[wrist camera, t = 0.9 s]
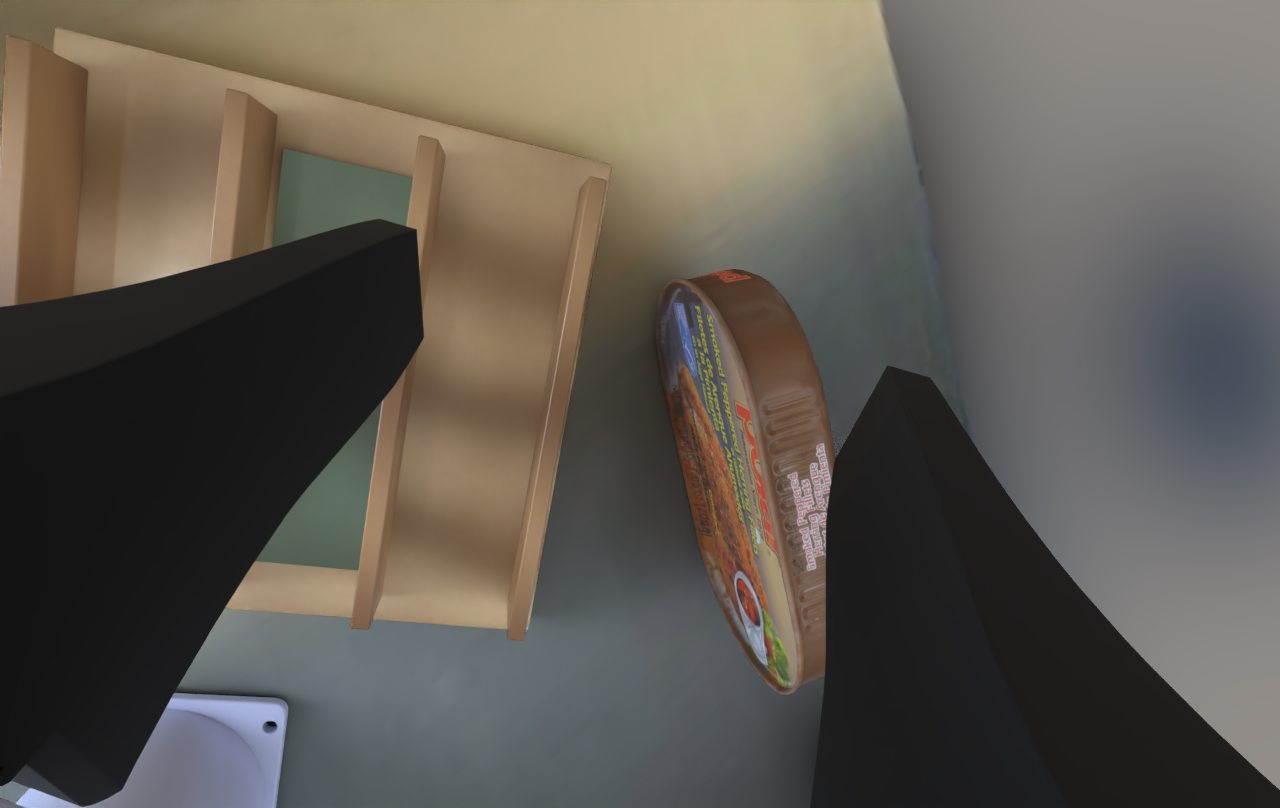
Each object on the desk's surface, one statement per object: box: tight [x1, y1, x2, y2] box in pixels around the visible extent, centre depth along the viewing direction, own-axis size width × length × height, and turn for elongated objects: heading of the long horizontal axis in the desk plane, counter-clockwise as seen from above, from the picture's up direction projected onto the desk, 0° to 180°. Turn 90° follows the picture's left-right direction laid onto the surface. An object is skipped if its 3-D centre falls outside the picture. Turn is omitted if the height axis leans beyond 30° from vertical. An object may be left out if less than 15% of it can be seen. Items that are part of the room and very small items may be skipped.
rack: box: [0, 28, 612, 641], centre depth 22 cm, size 18×17×4 cm
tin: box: [656, 269, 836, 695], centre depth 23 cm, size 15×3×8 cm, turn 13°
